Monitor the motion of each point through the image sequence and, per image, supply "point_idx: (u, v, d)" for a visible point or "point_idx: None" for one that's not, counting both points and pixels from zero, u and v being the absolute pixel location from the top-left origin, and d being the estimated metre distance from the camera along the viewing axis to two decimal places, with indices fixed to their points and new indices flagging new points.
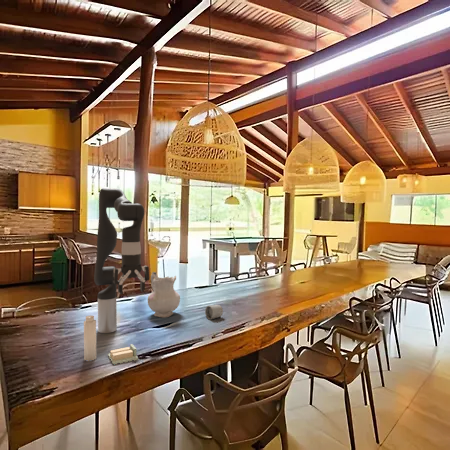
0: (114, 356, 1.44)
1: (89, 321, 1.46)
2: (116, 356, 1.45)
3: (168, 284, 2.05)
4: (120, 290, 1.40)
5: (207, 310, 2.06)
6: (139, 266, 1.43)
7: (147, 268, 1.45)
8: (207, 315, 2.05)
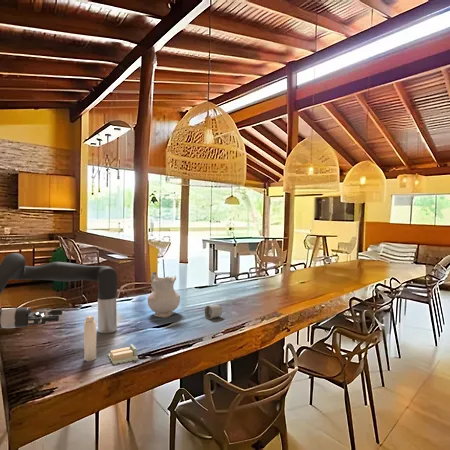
0: (114, 356, 1.44)
1: (89, 321, 1.46)
2: (116, 356, 1.45)
3: (168, 284, 2.05)
4: (54, 316, 1.39)
5: (206, 310, 2.06)
6: (33, 312, 1.44)
7: (38, 309, 1.48)
8: (206, 315, 2.05)
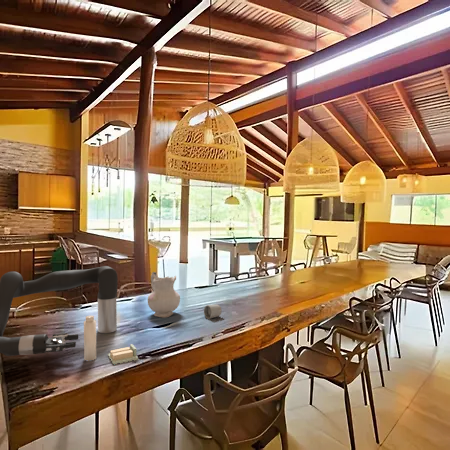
0: (114, 356, 1.44)
1: (89, 321, 1.46)
2: (116, 356, 1.45)
3: (168, 284, 2.05)
4: (71, 343, 1.41)
5: (206, 309, 2.07)
6: None
7: (54, 334, 1.49)
8: (206, 314, 2.06)
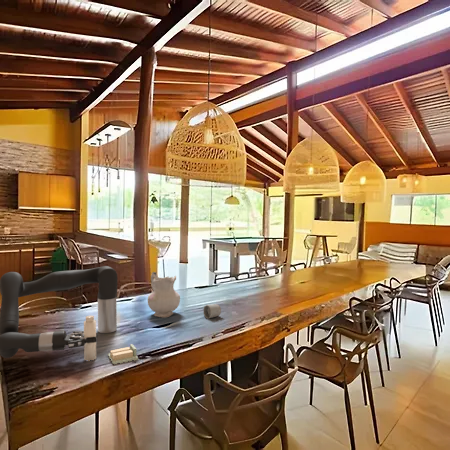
0: (114, 356, 1.44)
1: (89, 321, 1.46)
2: (116, 356, 1.45)
3: (168, 284, 2.05)
4: (92, 338, 1.45)
5: (205, 309, 2.07)
6: (69, 334, 1.48)
7: (75, 331, 1.52)
8: (205, 314, 2.06)
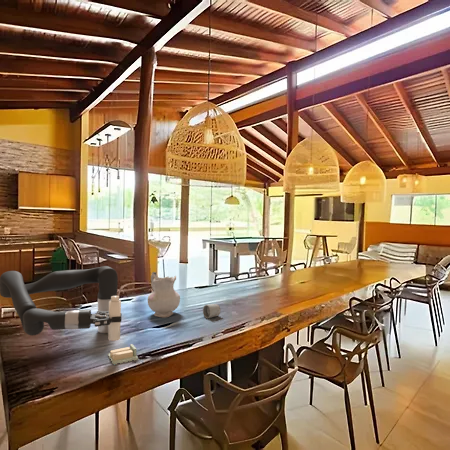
0: (114, 356, 1.44)
1: (114, 301, 1.46)
2: (116, 356, 1.45)
3: (168, 284, 2.05)
4: (117, 318, 1.45)
5: (205, 309, 2.08)
6: None
7: (99, 311, 1.52)
8: (205, 314, 2.07)
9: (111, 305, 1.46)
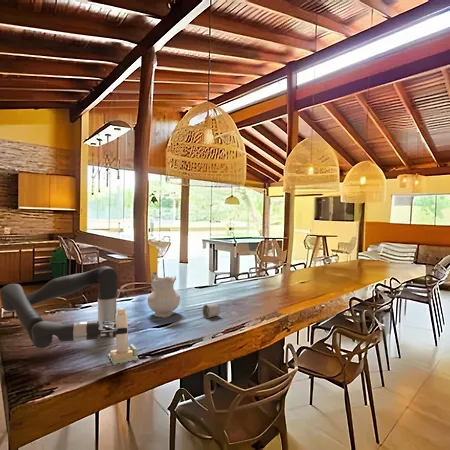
0: (114, 356, 1.44)
1: (121, 313, 1.47)
2: (116, 356, 1.45)
3: (168, 284, 2.05)
4: (123, 329, 1.44)
5: (204, 309, 2.08)
6: (101, 324, 1.49)
7: (104, 321, 1.52)
8: (204, 314, 2.07)
9: (118, 318, 1.46)
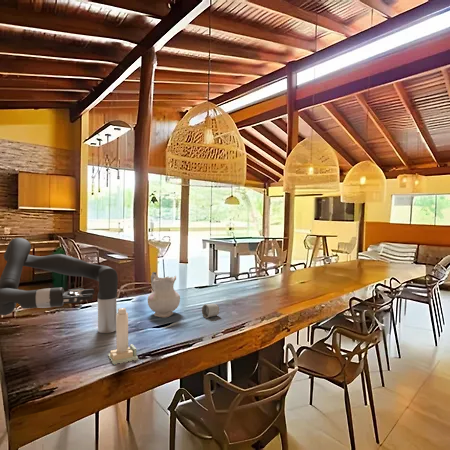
0: (114, 356, 1.44)
1: (122, 313, 1.47)
2: (116, 356, 1.45)
3: (168, 284, 2.05)
4: (88, 295, 1.40)
5: (204, 309, 2.08)
6: (66, 292, 1.45)
7: (70, 289, 1.48)
8: (204, 314, 2.07)
9: (118, 318, 1.46)
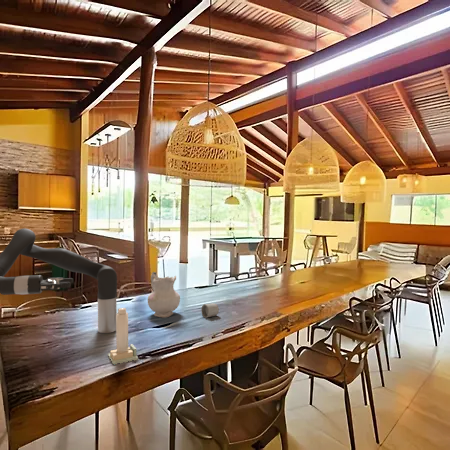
0: (114, 356, 1.44)
1: (122, 313, 1.47)
2: (116, 356, 1.45)
3: (168, 284, 2.05)
4: (65, 283, 1.43)
5: (203, 308, 2.09)
6: (45, 280, 1.48)
7: None
8: (203, 313, 2.08)
9: (118, 318, 1.46)
